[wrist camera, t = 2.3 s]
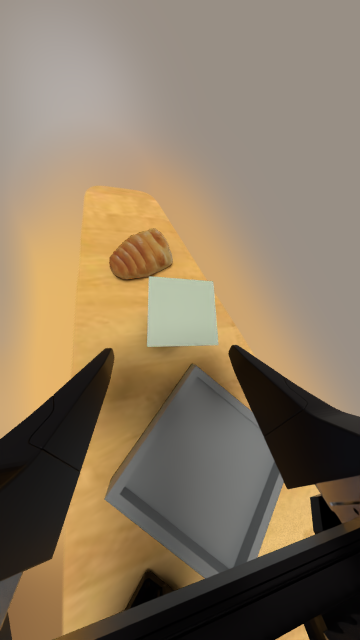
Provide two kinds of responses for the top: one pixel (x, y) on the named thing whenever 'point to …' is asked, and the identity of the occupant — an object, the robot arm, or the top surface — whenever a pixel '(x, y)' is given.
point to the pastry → (141, 255)
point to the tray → (200, 478)
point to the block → (181, 313)
